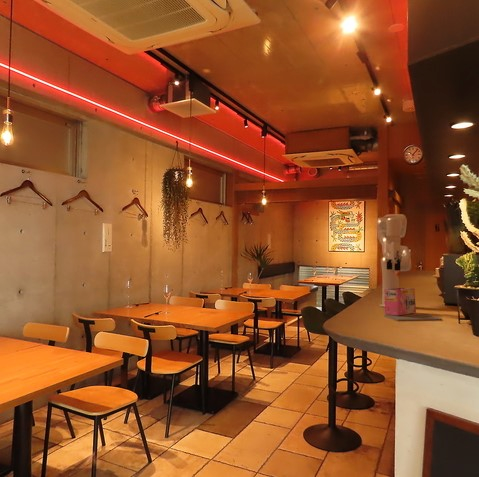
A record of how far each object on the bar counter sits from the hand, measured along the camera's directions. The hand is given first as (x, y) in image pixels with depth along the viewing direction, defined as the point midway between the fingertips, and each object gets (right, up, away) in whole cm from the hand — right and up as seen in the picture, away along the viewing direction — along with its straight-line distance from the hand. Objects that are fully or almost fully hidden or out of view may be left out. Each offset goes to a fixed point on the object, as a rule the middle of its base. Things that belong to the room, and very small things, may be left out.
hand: (393, 269), depth 234 cm
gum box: (+1, -23, -9) cm, 25 cm away
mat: (+2, -24, -20) cm, 31 cm away
